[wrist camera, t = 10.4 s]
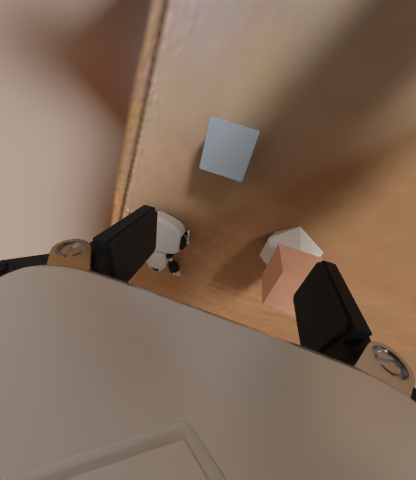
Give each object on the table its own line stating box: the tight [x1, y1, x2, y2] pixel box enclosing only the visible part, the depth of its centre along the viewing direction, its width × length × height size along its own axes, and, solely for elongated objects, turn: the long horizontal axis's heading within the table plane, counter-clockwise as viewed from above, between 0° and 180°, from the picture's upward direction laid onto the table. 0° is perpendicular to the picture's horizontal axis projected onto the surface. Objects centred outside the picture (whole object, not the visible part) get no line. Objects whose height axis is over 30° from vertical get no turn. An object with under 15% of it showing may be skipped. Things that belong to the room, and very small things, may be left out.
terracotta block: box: [262, 244, 324, 317], centre depth 24 cm, size 6×6×6 cm
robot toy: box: [127, 209, 190, 276], centre depth 38 cm, size 12×4×15 cm
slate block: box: [199, 116, 260, 182], centre depth 25 cm, size 6×6×6 cm
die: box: [260, 227, 323, 265], centre depth 30 cm, size 8×9×10 cm
